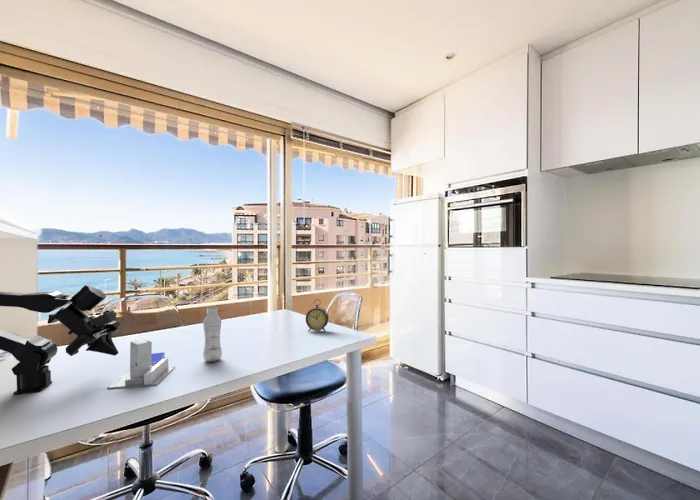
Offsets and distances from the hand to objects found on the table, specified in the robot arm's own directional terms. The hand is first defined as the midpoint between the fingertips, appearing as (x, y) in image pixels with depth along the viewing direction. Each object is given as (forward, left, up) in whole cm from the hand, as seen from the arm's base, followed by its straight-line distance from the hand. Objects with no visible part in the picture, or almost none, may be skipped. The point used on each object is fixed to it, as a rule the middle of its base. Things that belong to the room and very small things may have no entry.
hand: (116, 354), depth 100 cm
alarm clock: (+74, +32, -9) cm, 81 cm away
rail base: (+7, -1, -9) cm, 11 cm away
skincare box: (+7, -1, -8) cm, 11 cm away
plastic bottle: (+28, +8, -9) cm, 30 cm away
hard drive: (+6, +13, -8) cm, 16 cm away
